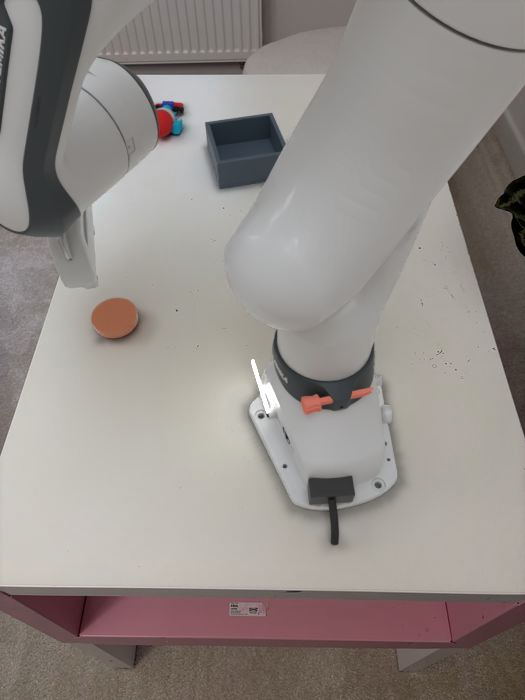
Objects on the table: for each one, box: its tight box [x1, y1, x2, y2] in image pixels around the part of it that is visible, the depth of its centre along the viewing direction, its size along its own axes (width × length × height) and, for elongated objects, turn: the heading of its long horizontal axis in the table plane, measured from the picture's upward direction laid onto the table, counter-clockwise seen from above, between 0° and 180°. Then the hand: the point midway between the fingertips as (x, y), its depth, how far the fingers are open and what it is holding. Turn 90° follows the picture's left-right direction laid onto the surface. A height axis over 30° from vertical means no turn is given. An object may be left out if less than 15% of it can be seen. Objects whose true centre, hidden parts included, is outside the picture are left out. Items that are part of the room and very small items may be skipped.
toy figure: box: [154, 100, 185, 138], centre depth 109 cm, size 8×5×15 cm
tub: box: [204, 112, 287, 190], centre depth 101 cm, size 14×14×6 cm
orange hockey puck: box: [90, 297, 139, 339], centre depth 79 cm, size 7×7×2 cm
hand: (90, 258), depth 69 cm, fingers open, 8 cm apart
